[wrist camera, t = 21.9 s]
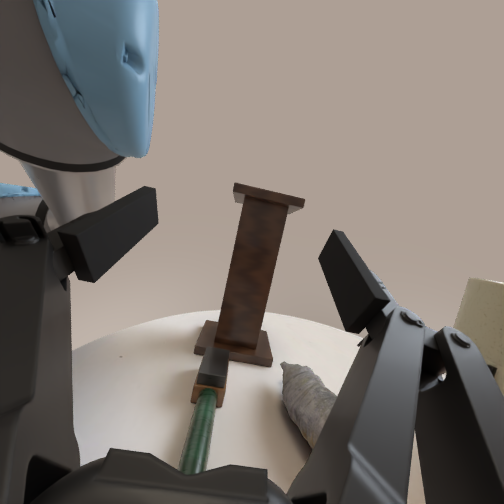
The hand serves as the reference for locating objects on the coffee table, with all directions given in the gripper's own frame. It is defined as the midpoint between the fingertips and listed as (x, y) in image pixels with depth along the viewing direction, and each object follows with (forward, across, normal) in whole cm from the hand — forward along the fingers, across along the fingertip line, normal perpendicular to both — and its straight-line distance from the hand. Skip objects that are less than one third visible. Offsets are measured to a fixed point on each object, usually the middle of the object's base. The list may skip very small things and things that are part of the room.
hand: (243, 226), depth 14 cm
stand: (+8, +3, -31) cm, 32 cm away
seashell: (-5, +13, -23) cm, 27 cm away
